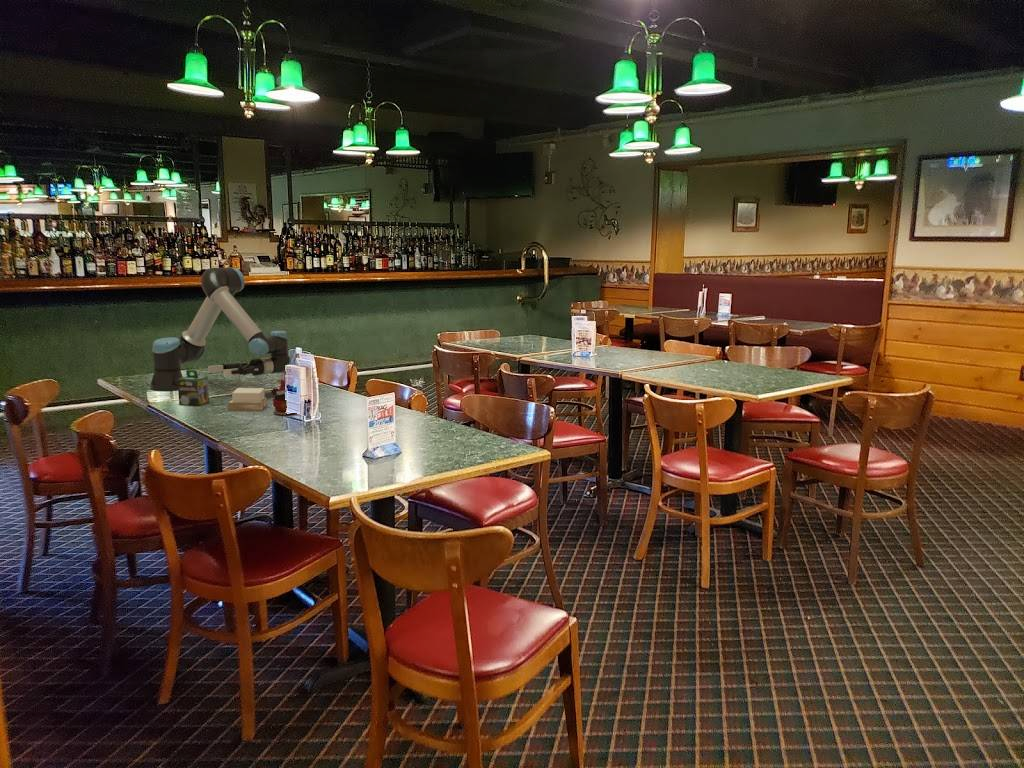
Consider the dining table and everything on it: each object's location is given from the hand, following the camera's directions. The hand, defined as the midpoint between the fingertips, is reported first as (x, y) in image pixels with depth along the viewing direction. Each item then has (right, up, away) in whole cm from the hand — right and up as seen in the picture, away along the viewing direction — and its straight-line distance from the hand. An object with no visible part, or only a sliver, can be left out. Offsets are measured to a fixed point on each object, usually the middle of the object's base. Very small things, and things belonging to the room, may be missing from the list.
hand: (215, 371), depth 323 cm
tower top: (+18, -12, -9) cm, 23 cm away
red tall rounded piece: (+36, -18, -17) cm, 44 cm away
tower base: (+17, -16, -9) cm, 25 cm away
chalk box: (-8, -14, -5) cm, 17 cm away
